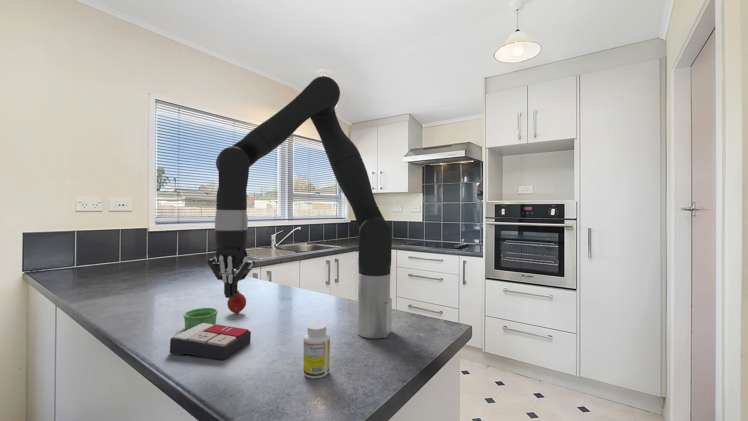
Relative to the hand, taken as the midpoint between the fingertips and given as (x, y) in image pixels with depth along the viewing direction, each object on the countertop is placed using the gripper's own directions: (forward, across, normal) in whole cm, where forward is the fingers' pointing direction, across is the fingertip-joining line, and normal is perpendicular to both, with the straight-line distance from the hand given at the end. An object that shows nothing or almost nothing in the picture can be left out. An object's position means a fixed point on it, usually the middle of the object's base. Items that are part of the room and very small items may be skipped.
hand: (230, 297), depth 81 cm
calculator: (+11, -3, 0) cm, 12 cm away
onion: (+13, +17, -23) cm, 32 cm away
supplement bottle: (+13, -26, +4) cm, 29 cm away
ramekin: (+13, +19, -10) cm, 25 cm away
